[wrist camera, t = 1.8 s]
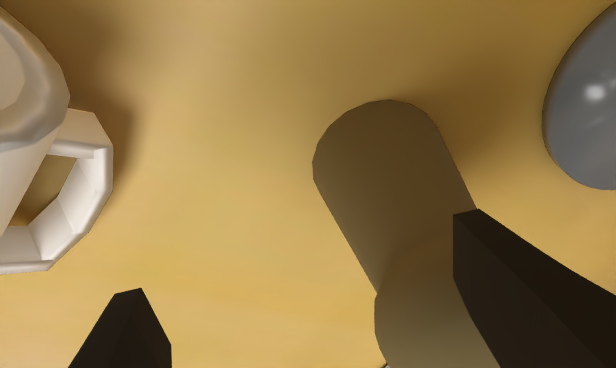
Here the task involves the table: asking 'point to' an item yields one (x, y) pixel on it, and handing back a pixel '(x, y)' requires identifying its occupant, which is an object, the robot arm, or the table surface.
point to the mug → (44, 153)
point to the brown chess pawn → (402, 230)
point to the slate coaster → (585, 107)
